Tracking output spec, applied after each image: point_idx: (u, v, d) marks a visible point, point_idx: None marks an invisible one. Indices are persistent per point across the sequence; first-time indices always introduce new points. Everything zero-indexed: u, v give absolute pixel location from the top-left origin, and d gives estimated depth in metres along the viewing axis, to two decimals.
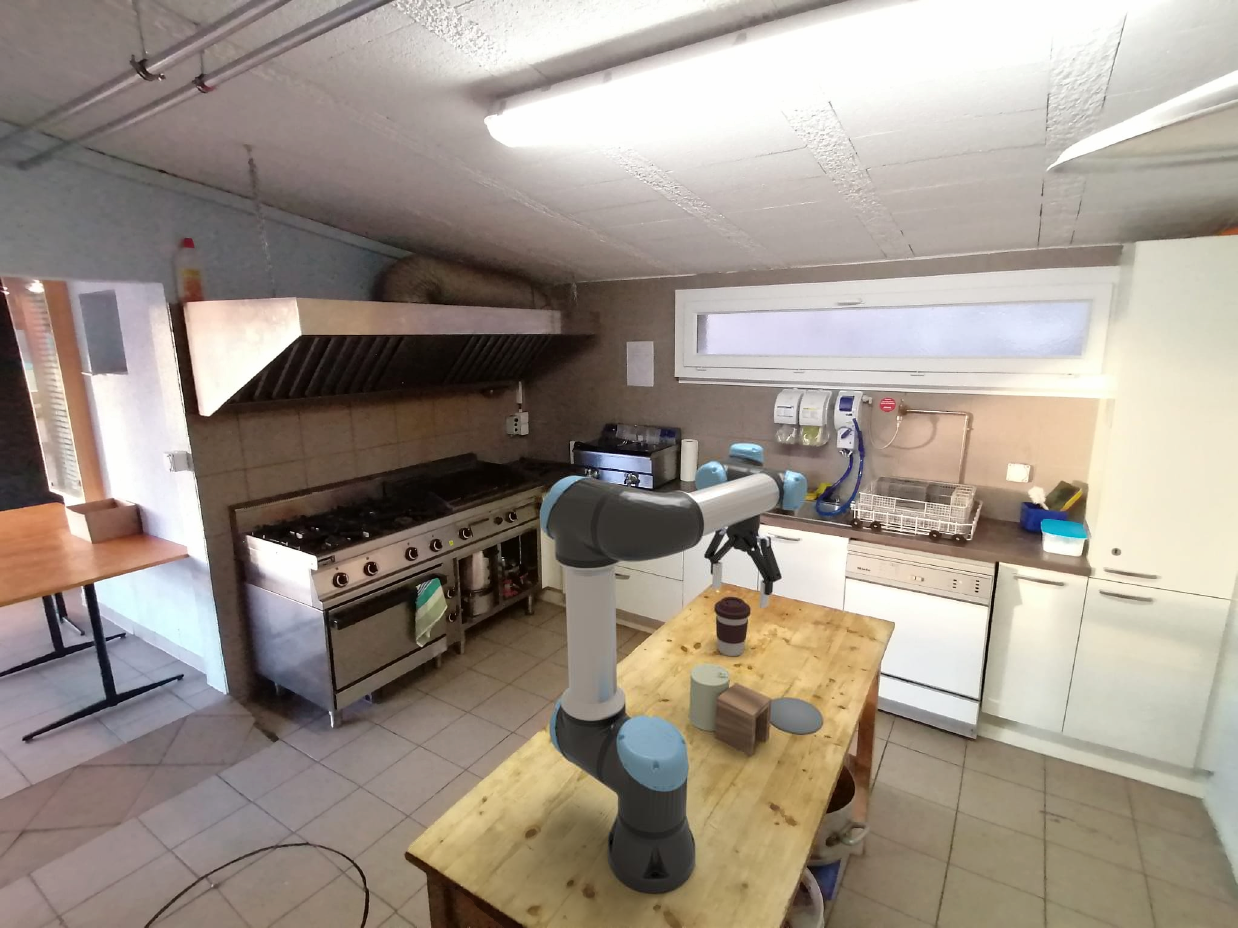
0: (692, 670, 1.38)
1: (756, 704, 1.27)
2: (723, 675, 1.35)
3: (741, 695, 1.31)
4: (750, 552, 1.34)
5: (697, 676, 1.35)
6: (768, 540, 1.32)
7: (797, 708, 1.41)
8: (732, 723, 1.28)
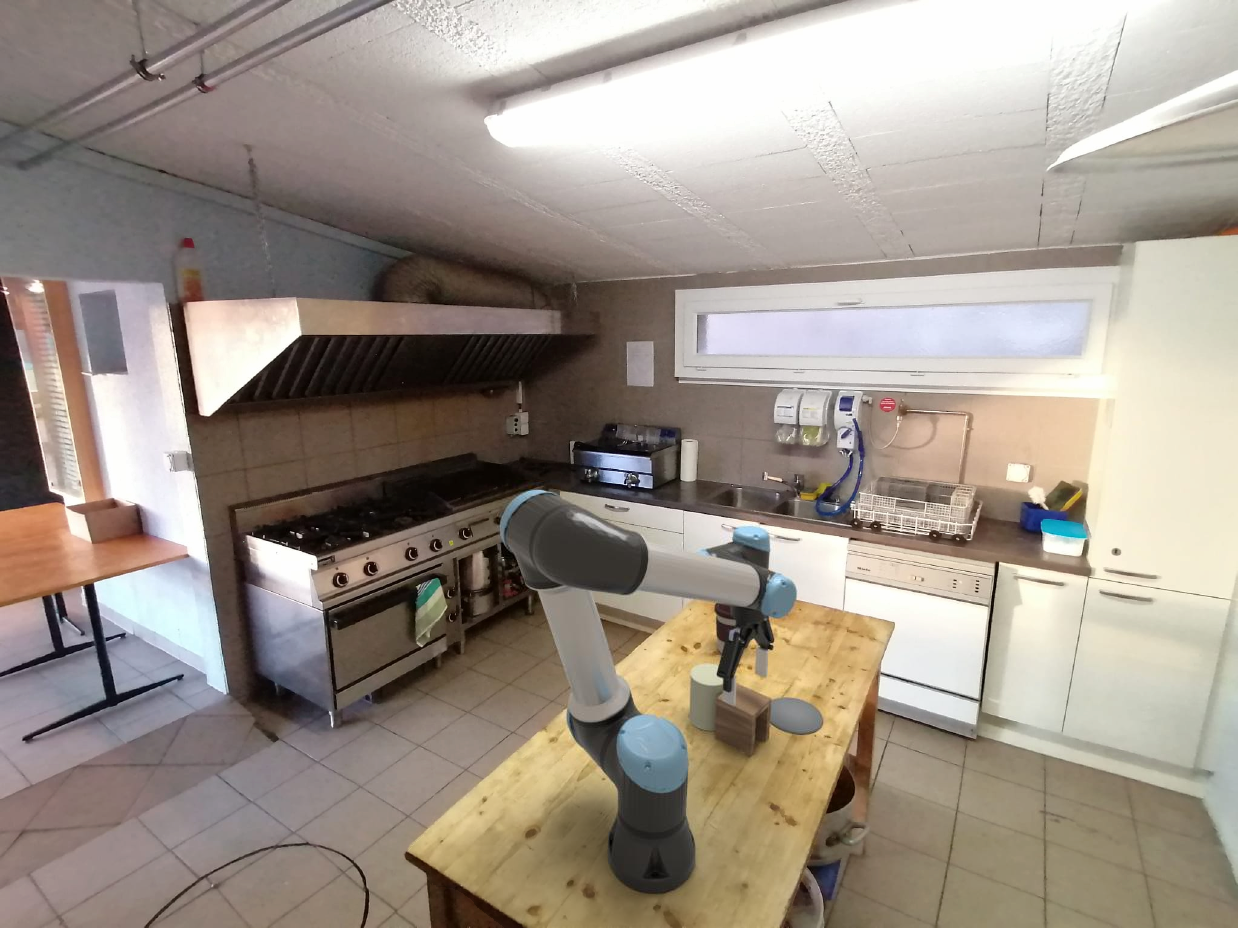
0: (692, 670, 1.38)
1: (756, 704, 1.27)
2: None
3: (741, 695, 1.31)
4: None
5: (697, 676, 1.35)
6: (731, 634, 1.21)
7: (797, 708, 1.41)
8: (732, 723, 1.28)
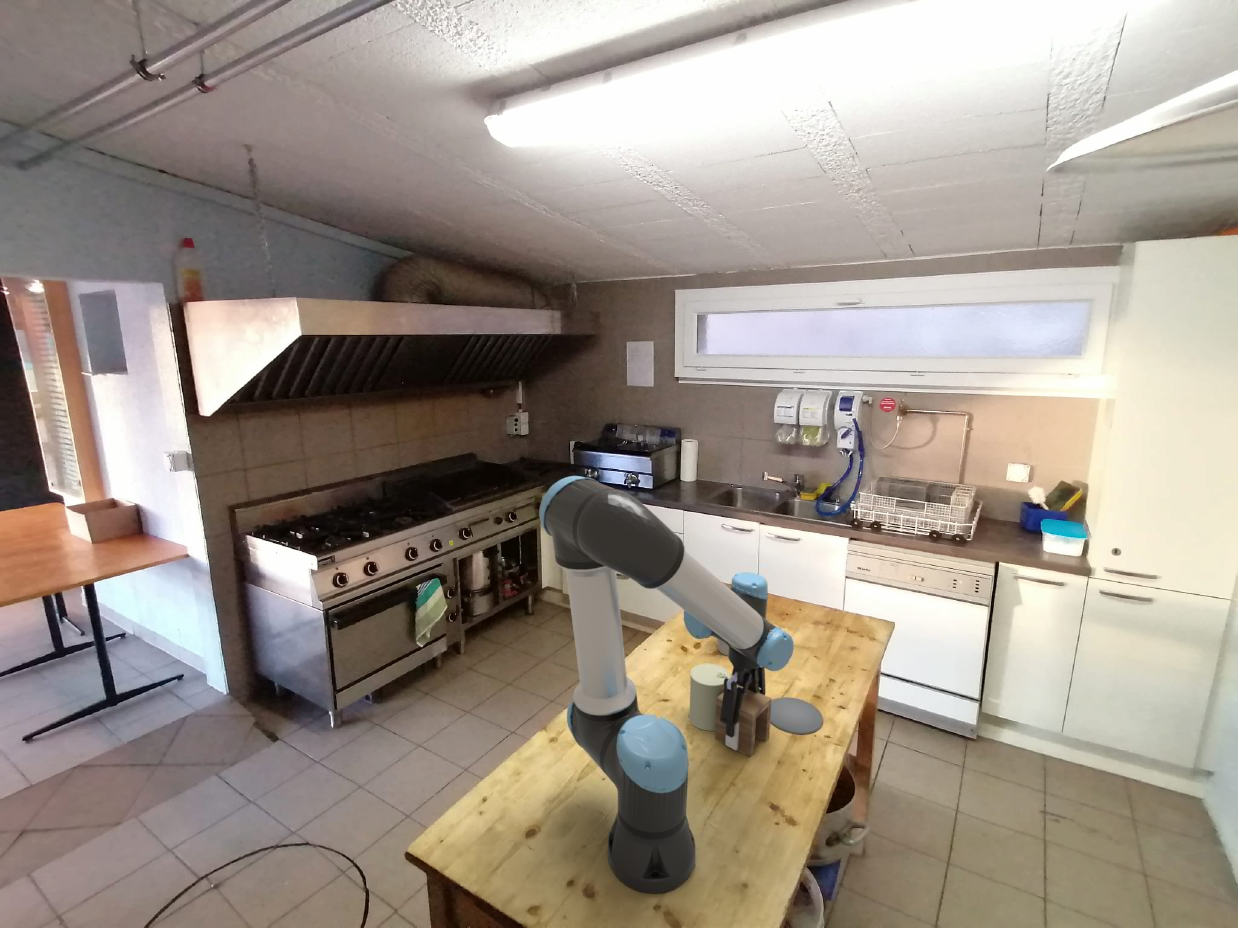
0: (692, 670, 1.38)
1: (756, 704, 1.27)
2: (723, 675, 1.35)
3: None
4: None
5: (697, 676, 1.35)
6: (729, 684, 1.23)
7: (797, 708, 1.41)
8: None
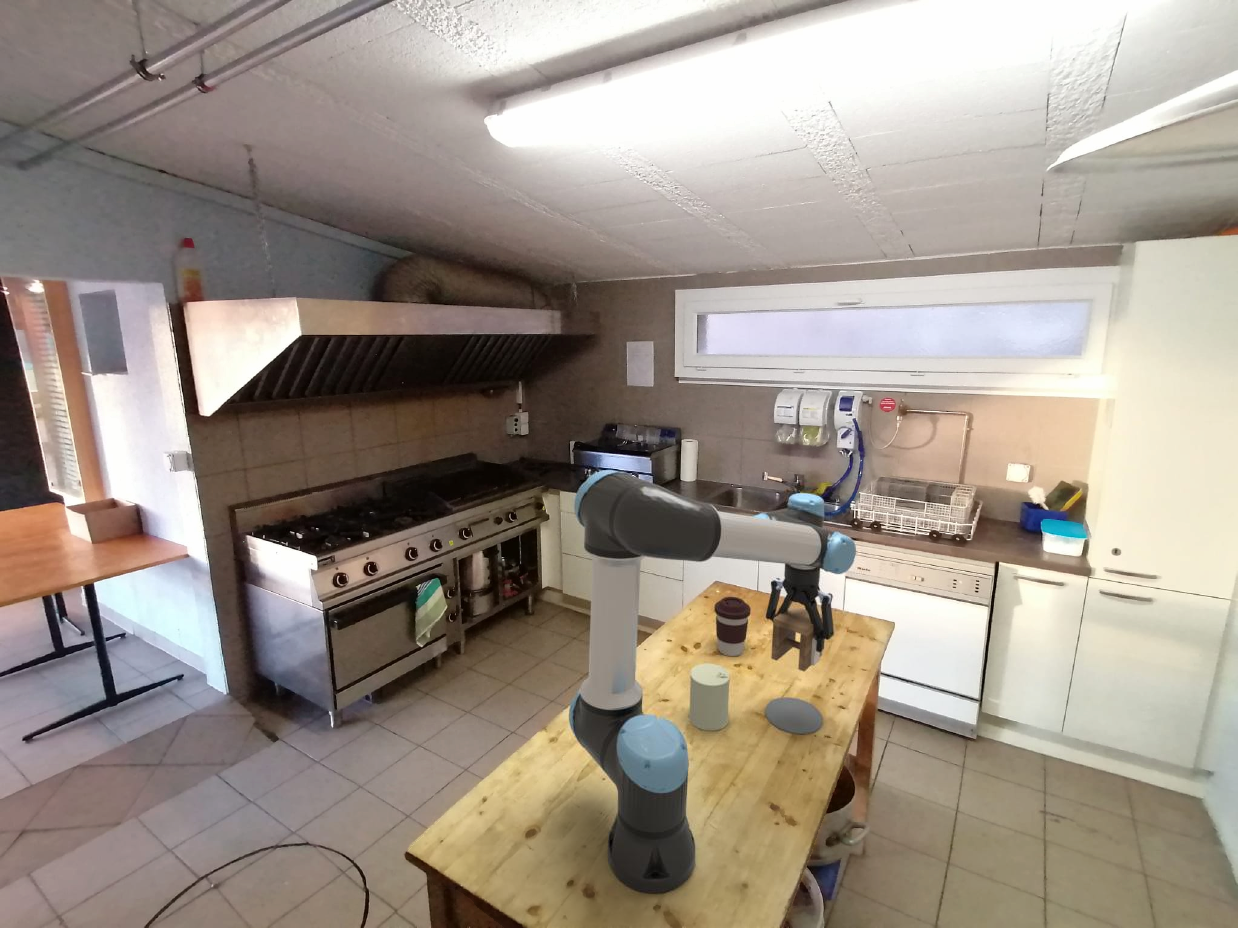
0: (692, 670, 1.38)
1: (805, 612, 1.36)
2: (723, 675, 1.35)
3: (795, 617, 1.33)
4: (808, 607, 1.30)
5: (697, 676, 1.35)
6: (830, 598, 1.28)
7: (797, 708, 1.41)
8: None
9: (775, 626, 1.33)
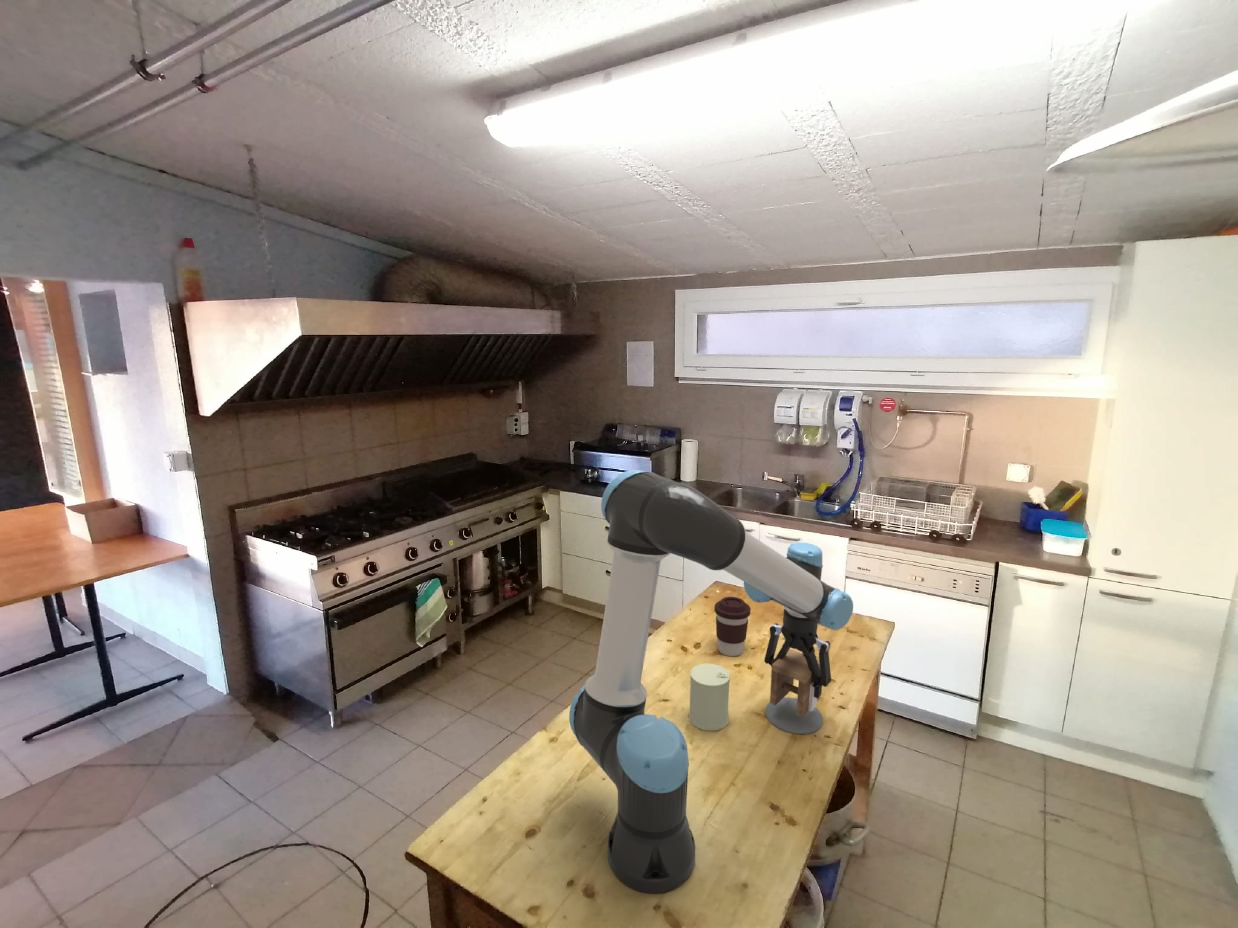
0: (692, 670, 1.38)
1: (803, 657, 1.39)
2: (723, 675, 1.35)
3: (793, 663, 1.36)
4: (806, 654, 1.32)
5: (697, 676, 1.35)
6: (828, 646, 1.31)
7: None
8: None
9: (774, 672, 1.36)
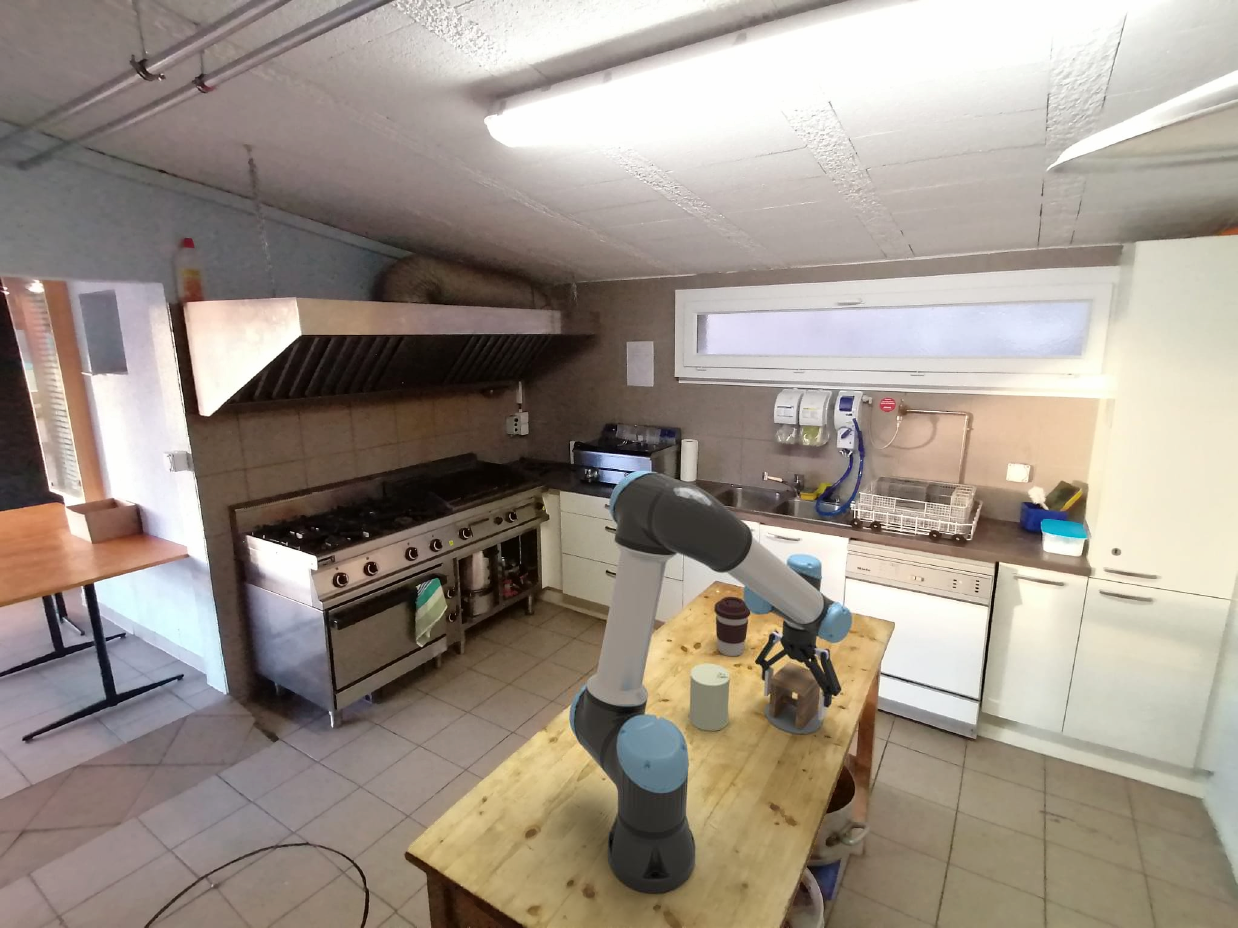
0: (692, 670, 1.38)
1: (802, 670, 1.39)
2: (723, 675, 1.35)
3: (792, 676, 1.37)
4: (809, 664, 1.32)
5: (697, 676, 1.35)
6: (827, 653, 1.31)
7: None
8: (810, 699, 1.35)
9: (773, 685, 1.36)
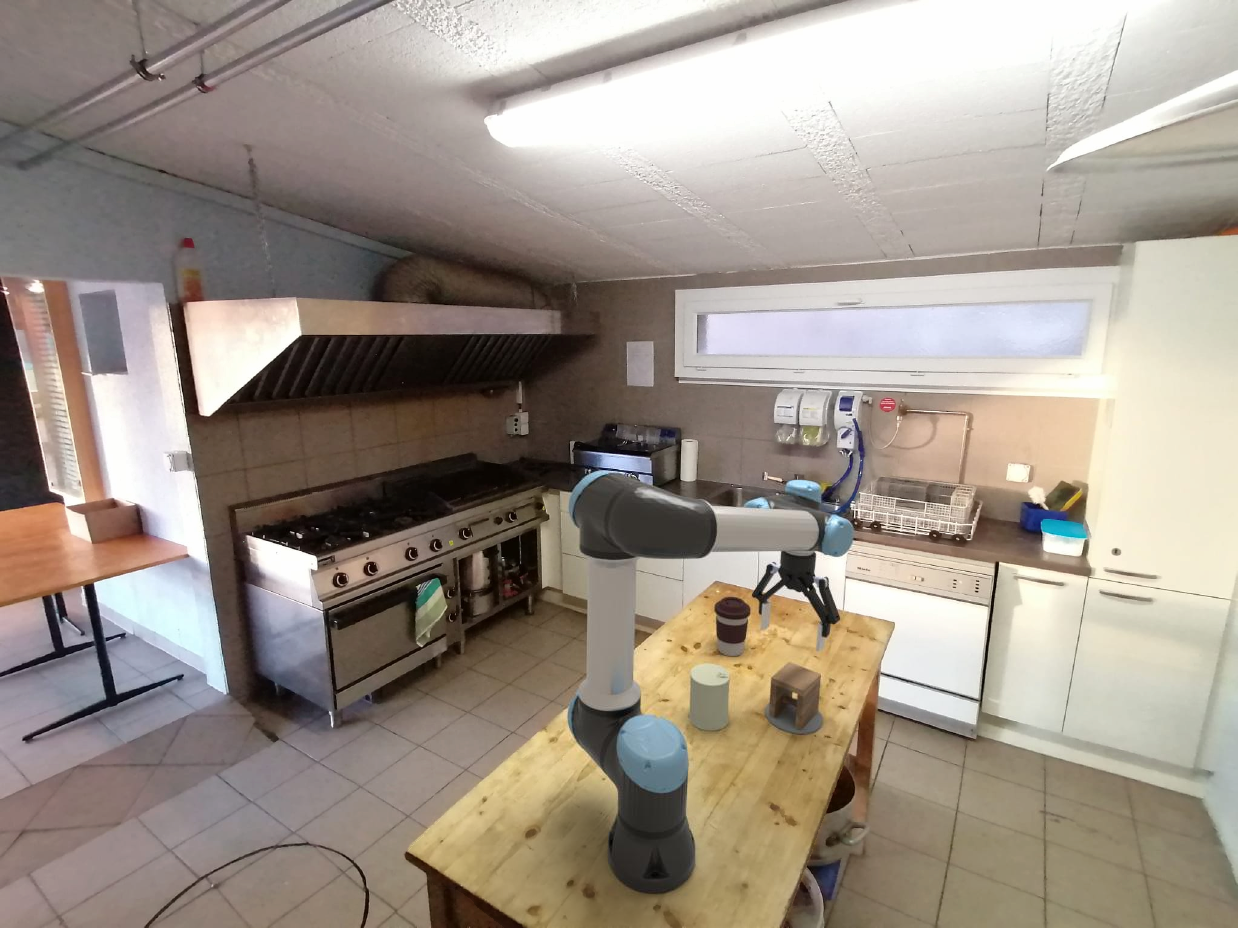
0: (692, 670, 1.38)
1: (802, 670, 1.39)
2: (723, 675, 1.35)
3: (792, 676, 1.37)
4: (807, 593, 1.29)
5: (697, 676, 1.35)
6: (826, 581, 1.27)
7: None
8: (810, 699, 1.35)
9: (773, 685, 1.36)
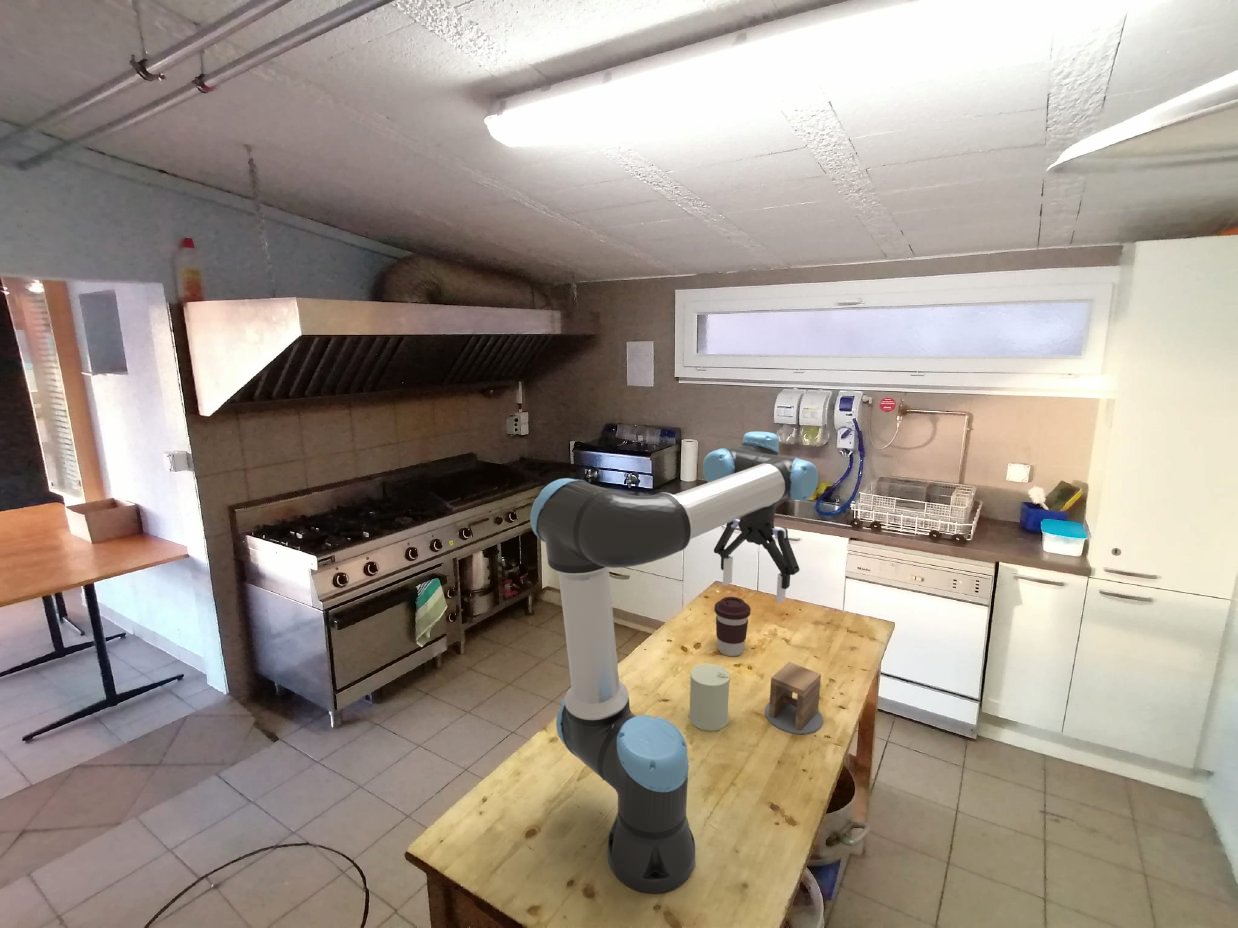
0: (692, 670, 1.38)
1: (802, 670, 1.39)
2: (723, 675, 1.35)
3: (792, 676, 1.37)
4: (766, 545, 1.28)
5: (697, 676, 1.35)
6: (785, 532, 1.27)
7: None
8: (810, 699, 1.35)
9: (773, 685, 1.36)
